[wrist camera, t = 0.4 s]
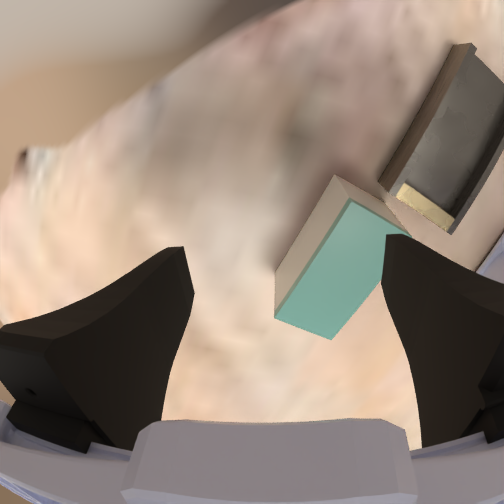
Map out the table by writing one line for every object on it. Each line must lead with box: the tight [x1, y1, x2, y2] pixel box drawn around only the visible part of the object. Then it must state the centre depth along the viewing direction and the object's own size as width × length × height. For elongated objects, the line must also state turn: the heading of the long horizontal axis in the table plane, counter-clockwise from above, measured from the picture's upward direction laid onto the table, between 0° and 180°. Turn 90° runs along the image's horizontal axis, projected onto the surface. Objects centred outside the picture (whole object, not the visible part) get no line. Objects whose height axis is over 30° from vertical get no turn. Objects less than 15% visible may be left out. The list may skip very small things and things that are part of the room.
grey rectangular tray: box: [378, 43, 504, 235], centre depth 16 cm, size 6×11×2 cm, turn 155°
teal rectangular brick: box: [274, 174, 412, 340], centre depth 19 cm, size 4×8×5 cm, turn 155°
